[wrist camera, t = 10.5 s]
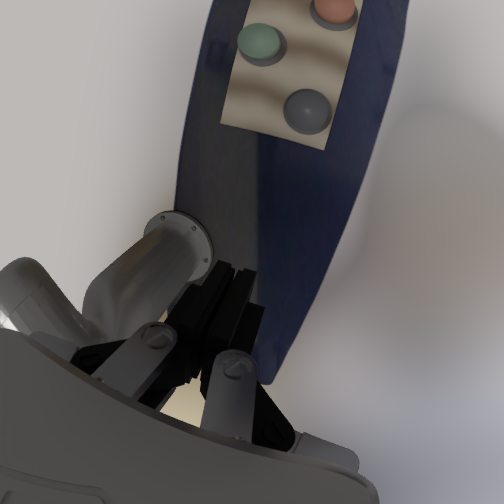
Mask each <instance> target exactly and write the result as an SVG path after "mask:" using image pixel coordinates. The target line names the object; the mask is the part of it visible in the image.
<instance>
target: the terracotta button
mask: <svg viewBox="0 0 504 504" xmlns="http://www.w3.org/2000/svg"><path fill="white" fill-rule="evenodd" d="M314 2H315V11H316V13H317V15H318V16H319V17H320V18H321V19H322V20H324V21H326V22H328V23H331V24H343V23H346V22H348V21H349V20H350V19H351V18H352V16H353V13H354V10H355V2H354V0H314Z"/></svg>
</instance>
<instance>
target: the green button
mask: <svg viewBox="0 0 504 504" xmlns="http://www.w3.org/2000/svg"><path fill="white" fill-rule="evenodd" d="M237 42H238V46H239V48H240V50H241V51H242V52H243V53H245V54H246V55H247V56H249V57H250V58H252V59H254V60H268V59H270V58H272V57H274V56H275V55H276V54H277V53H278V51H279V50H280V46H281V41H280V38H279V36H278V35H277V33H276V31H275V30H274V29H273V28H272V27H271V26H269V25H267V24H264V23H253V24H250V25H248V26H246V27H245V28H243V29H242V30H241V32H240V33H239V35H238V40H237Z"/></svg>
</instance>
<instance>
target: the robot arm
mask: <svg viewBox="0 0 504 504" xmlns="http://www.w3.org/2000/svg"><path fill="white" fill-rule="evenodd" d="M212 259H213V247H212V243H211V240H210V238H209V236H208V234H207V232H206V231H205V229H204V228H203V226H202V225H201V224H200V223H199V222H198V221H196V220H195V219H194V218H193V217H191V216H189V215H187V214H185V213H182V212H179V211H172V210H171V211H164V212H161V213H159V214H157V215H156V216H154V217H153V218H152V219H151V220H150V221H149V222H148V224H147V225H146V227H145V230H144V236H143V238H142V239H141V240H139V241H138V242H137V243H135V244H134V245H133V246H132V247H131V248H130V249H128V250H127V251H126V252H125V253H123V254H122V255H121V256H120V257H119V258H117V259H116V260H115V261H114V262H113V263H112V264H110V265H109V266H108V267H107V268H106V269H105V270H104V271H102V272H101V273H100V274H99V275H98V276H97V277H96V278H95V279H94V280H93V281H92V282H91V284H90V285H89V287H88V289H87V291H86V294H85V297H84V301H83V308H82V315H81V314H80V313H79V311H77V310H76V309H75V307H74V306H73V305H72V304H71V302H70V301H69V300H68V299H67V298H66V296H65V295H64V294H63V292H62V291H61V290H60V288H59V287H58V286H57V284H56V283H55V282H54V280H53V279H52V278H51V277H50V275H49V274H48V273H47V271H46V270H45V269H44V267H43V266H42V265H41V264H40V263H38V262H37V261H36V260H34V259H32V258H28V257H22V258H18V259H16V260H14V261H13V262H11V263H9V264H8V265H7V266H6V267H4V268H3V269H2V270H1V271H0V504H379V497H378V493H377V490H376V489H375V487H374V485H373V484H372V483H371V482H370V481H369V480H368V479H366V478H365V477H363V476H362V475H360V474H358V473H357V472H358V469H359V459H358V456H357V455H356V454H355V453H354V452H353V451H352V450H350V449H348V448H344V447H342V446H339V445H336V444H334V443H331V442H328V441H326V440H323V439H320V438H317V437H315V436H312V435H310V434H308V433H305V432H304V433H303V434H302V433H300V432H297V431H295V430H294V429H293V427H292V425H291V424H290V423H289V422H288V420H287V419H286V418H285V416H284V415H283V414H282V413H281V411H280V410H279V409H278V407H277V406H276V405H275V403H274V402H273V401H272V399H271V398H270V397H269V395H268V394H267V393H266V391H265V390H264V389H263V387H262V386H261V384H260V383H259V382H258V380H257V364H256V362H255V360H254V359H253V358H252V357H251V356H250V355H251V352H252V349H253V345H254V342H255V339H256V336H257V332H258V329H259V326H260V323H261V319H262V316H263V313H264V309H265V307H263V306H260V305H257V304H253V303H250V302H249V301H250V297H251V293H252V290H253V286H254V282H255V279H256V275H257V272H256V271H252V270H249V269H246V268H244V270H243V271H241V270H238V272H237V274H236V276H235V278H234V273H235V269H234V268H231V264H230V263H227V262H224V261H220V260H218V262H217V263H216V265H215V266H214V268H213V269H212V271H211V272H210V274H209V275H208V277H207V278H206V280H205V281H204V283H203V284H202V286H199V285H196V284H193V283H192V284H191V285H190V286H189V287H188V288H187V290H186V291H185V293H184V294H183V295H182V297H181V298H180V300H179V301H178V303H177V304H176V305H175V307H174V308H173V310H172V311H171V313H170V314H169V315H168V317H167V319H166V320H165V321H164V323H163V322H158V320H159V319H160V318H161V316H162V315H163V313H164V312H165V311H166V309H167V308H168V307H169V305H170V304H171V303H172V301H173V300H174V298H175V297H176V296H177V294H178V293H179V292H180V290H181V289H182V288H183V286H184V285H185V284H186V282H188V281H194V280H196V279H199V278H200V277H202V276H203V275H204V274H205V273H206V272H207V270H208V269H209V267H210V265H211V263H212ZM233 278H234V280H233ZM200 371H201V378H200V381H201V386H200V392H201V394H202V395H203V397H204V399H205V406H204V410H203V415H202V420H201V425H200V428H199V427H196V426H194V425H191V424H188V423H186V422H183V421H181V420H178V419H176V418H173V417H171V416H168V415H166V414H163V413H161V412H159V411H160V410H161V409H162V407H163V406H164V405H165V403H166V402H167V401H168V399H169V398H170V397H171V395H172V394H173V393H174V391H175V389H176V387H178V386H181V385H184V384H185V383H188V384H189V383H190V381H191V379H192V378H195V379H196V378H197V377H198V375H199V373H200Z"/></svg>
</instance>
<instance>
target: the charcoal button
mask: <svg viewBox="0 0 504 504" xmlns="http://www.w3.org/2000/svg"><path fill="white" fill-rule="evenodd" d="M286 115H287V118H288V120H289V122H290V123H291V124H292V125H293V126H294V127H296V128H297V129H300V130H303V131H313V130H316V129H318V128H320V127H321V126H322V125H323V124H324V123H325V121H326V119H327V115H328V109H327V106H326V103H325V102H324V100H323V99H322V98H321V97H320V96H319V95H317V94H315V93H312V92H307V91H306V92H299V93H297V94H295V95H293V96H292V97H291V98H290V99H289V101H288V103H287V105H286Z"/></svg>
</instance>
